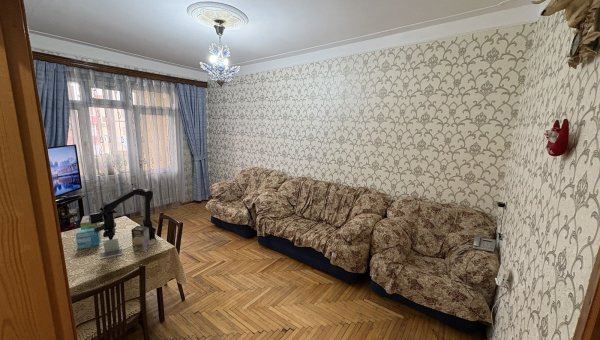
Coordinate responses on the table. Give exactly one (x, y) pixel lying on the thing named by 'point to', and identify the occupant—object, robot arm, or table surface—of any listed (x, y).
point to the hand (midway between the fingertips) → (111, 240)
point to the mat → (111, 253)
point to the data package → (87, 238)
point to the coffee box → (140, 238)
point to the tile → (111, 244)
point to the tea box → (87, 223)
